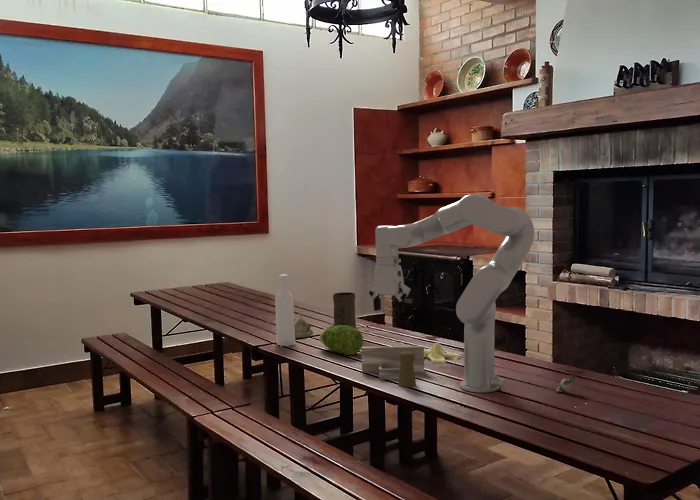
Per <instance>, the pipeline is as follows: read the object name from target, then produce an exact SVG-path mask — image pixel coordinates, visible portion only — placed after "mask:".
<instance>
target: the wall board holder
mask: <svg viewBox="0 0 700 500" xmlns="http://www.w3.org/2000/svg"><path fill="white" fill-rule="evenodd" d="M424 350H425V346H424V345H422V346H421V345H419V346H418V345H415V346H411V345H410V346H409V345H408V346H406V345H405V346H402V345H401V346H362V347H361V374H363V373H366V374H367V373H378V374H379V375H378V379H379V380H399V372H400V363H401V362H400V361H399V354H400V353H401V352H405V351H408V352H412V353H413V354H414V357H415V359H414V361H413V366H414V373H425V358H424Z"/></svg>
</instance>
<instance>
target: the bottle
mask: <svg viewBox="0 0 700 500" xmlns="http://www.w3.org/2000/svg"><path fill="white" fill-rule="evenodd" d="M278 277H279V278H278V279H279V280H278V281H279V292H277V294H276V295H275V298H274V303H275V304H274V305H275V328H276V329H275V335H276V336H275V337H276V339H275V341H276V346H278V345H280V346H279V347H283V346H285V347H291V346H290V345H292V346H295V344H296V338H295V328H294V320H295V302H294V297H293V294H292V293H291V292H290V291H289V275H288V274H286V273H285V274H279V275H278Z"/></svg>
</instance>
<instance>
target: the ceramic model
mask: <svg viewBox="0 0 700 500" xmlns="http://www.w3.org/2000/svg"><path fill="white" fill-rule="evenodd" d="M302 314H303V313H301V312H299V313H298V314H297V316H296V317H294V328H295V337H302V338H306V337H307V338H308V337H310V336H311V335H312V334H313V333H314V332H313V329H311V328H312V324H311V323H309V322H308V321H307V320H306V319H305V317H304V316H303V315H302Z"/></svg>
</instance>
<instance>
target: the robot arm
mask: <svg viewBox="0 0 700 500" xmlns="http://www.w3.org/2000/svg"><path fill="white" fill-rule="evenodd" d="M471 225H474V226H476V227H479V228H481V229H484V230H487V231H488V232H491V233H493V234H496V235H499V236H503V237H505V238H504V239H503V241H502V243H501V244H500V246H499V247H498V248H497V250H496V252H495V254H494V255H493V256H492V259H490V261H489V262H488V263H487V264H485V265H483V266H482V267H480V268H478V269H477V271H476V272H475V273H474V275H473V276H472V278H471V279H470V281H469V282H468V284H467V286H466V287H465V289H464V291H463V292H462V294H461V295H460V297H459V298H458V300H457V302H456V306H455V313H456V316H457V318H458V320H459V321H460V322H461V323H463V324H464V329H463V330H464V333H463V338H464V339H463V343H464V344H463V348H464V349H463V350H464V354H463V357H464V360H463V361H464V362H463V363H464V368H463V369H464V371H463V372H464V374H463V375H464V376H463V377H464V379H463V380H461V381H460V382H459V388H461V389H462V390H464V391H467V392H471V393H482V394H483V393H492V392H496V391H498V390H499V389H500V388H505V387H506V383H507V382H506V379H503V378H499V376H498V373H496V372H495V326H496V325H495V324H496V323H495V322H496V314H497V312H496V311H497V305H496V300H497V299H498V298H499V296H500V295H501V294H502V292H504V291H505V290H506V289H508V287H509V286H510V284H511V282H512V281H513V279H514V277H515V275H516V274H517V273H518V272H519V269H520V268H521V266H522V264H523V262H524V261H525V259H526V257H527V256H528V254H529V252H530V250H531V248H532V246H533V243H534V241H535V227H534V226H535V225H534V223H533V221H532V219H531V217H530V215H529V214H528V213H527V212H526V211H525V210H524V209H522V208H520V207H518V206H517V207H516V206H504V205H501V204H498V203H496V202H493V201H491V200H490V198H489V197H488V196H487V195H485V194H483V193H469V194H467V195H464V196H463V197H462V198H461V199H460V200H458V201H456V202H453V203H451V204H448V205H446V206H442V207H441V208H439V209H438V210H437V211H436V212H435V213H434V214H432V215H430V216H428V217H426V218H424V219H421V220H418V221H416V222H413V223H407V224H401V225H396V226H395V225H393V224H391V225H386V224H385V225H378V226H377V227H376V228H375V232H374V233H375V234H374V235H375V236H374V237H375V264H376V265H375V266H374V272H373V282H372V283H370V284H369V285H367V286H366V288H367V291H368V294H369V295H370V297H371V299H372V300H373V310H374V312H378V311H381V309H382V303H381V300H382V299H381V298H380V297H381V296H394V297H395V299H397V301H396V308H397V309H396V313H397V314H402V313H404V312H405V301H406V300H407V298H408V297H409V295H410V292H411V288H410V287H408V286H407V285H406V284H405V281H404V275H403V269H402V266H401V265H399V263H401V261H402V259H401V258H399V248H410V247H413V246H414V247H415V246H418V245H421V244H423V243H427V242H429V241H431V240H434V239H436V238H439V237H441V236H443V235H448V234H451V233H452V232H456V231H458V230H460V229H462V228H463V229H464V228H465V227H468V226H471Z"/></svg>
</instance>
